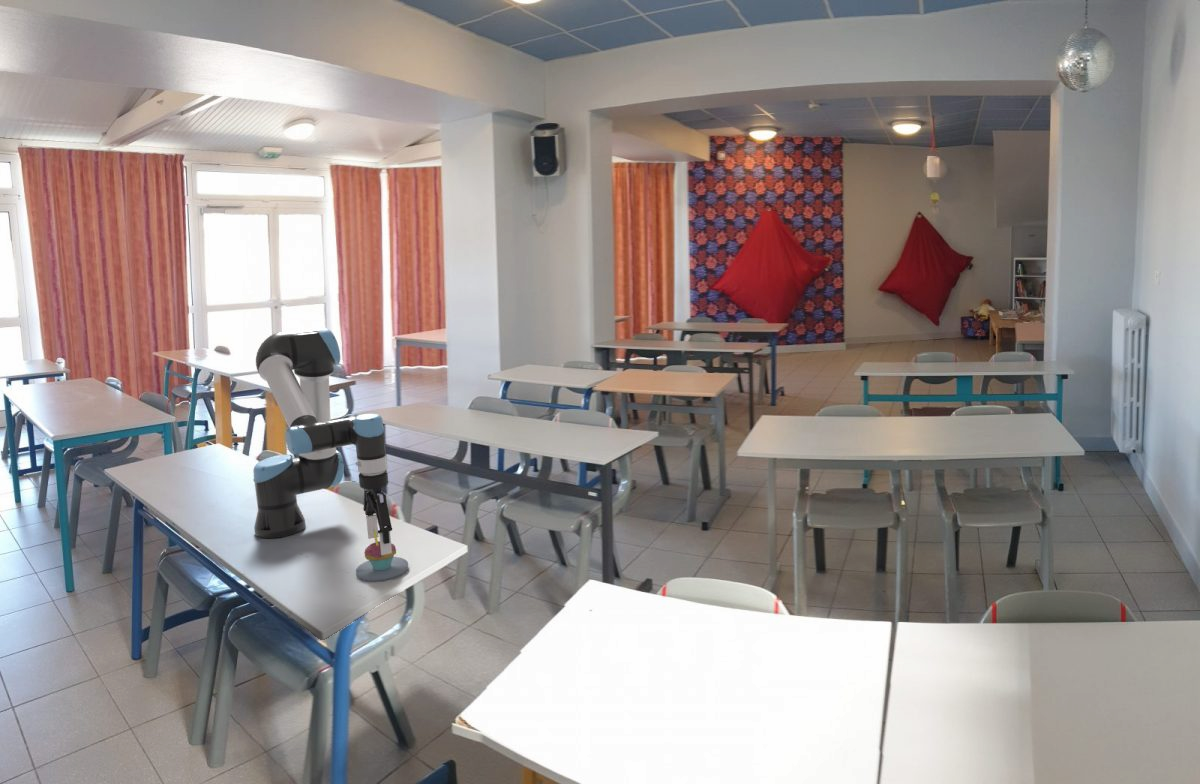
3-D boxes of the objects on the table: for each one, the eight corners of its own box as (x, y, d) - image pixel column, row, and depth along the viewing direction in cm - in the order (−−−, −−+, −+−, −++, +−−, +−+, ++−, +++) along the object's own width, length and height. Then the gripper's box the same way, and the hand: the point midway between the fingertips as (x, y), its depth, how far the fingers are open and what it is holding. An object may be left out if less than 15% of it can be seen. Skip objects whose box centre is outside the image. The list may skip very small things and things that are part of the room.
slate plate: (346, 579, 216) (345, 575, 216) (373, 559, 229) (372, 555, 229) (392, 583, 212) (392, 579, 212) (417, 562, 226) (417, 558, 225)
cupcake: (388, 574, 216) (384, 532, 213) (360, 572, 217) (355, 531, 215) (402, 561, 224) (398, 520, 221) (374, 559, 226) (370, 519, 223)
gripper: (348, 462, 224) (355, 533, 228) (370, 486, 203) (378, 564, 207) (374, 458, 228) (381, 528, 232) (399, 481, 206) (406, 557, 211)
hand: (379, 545), depth 220 cm, fingers open, 13 cm apart
